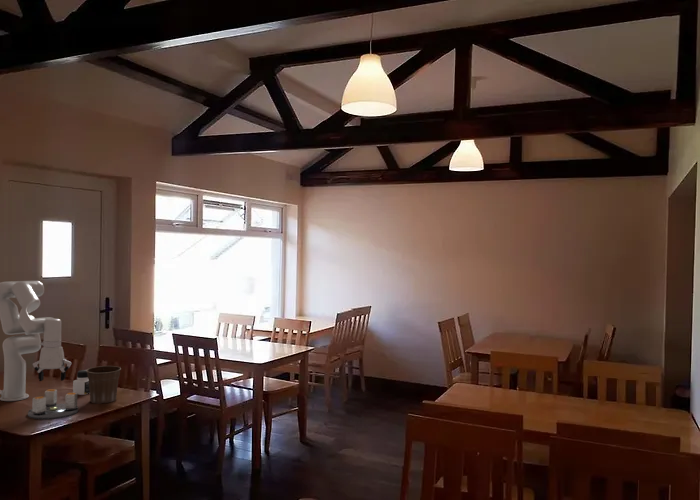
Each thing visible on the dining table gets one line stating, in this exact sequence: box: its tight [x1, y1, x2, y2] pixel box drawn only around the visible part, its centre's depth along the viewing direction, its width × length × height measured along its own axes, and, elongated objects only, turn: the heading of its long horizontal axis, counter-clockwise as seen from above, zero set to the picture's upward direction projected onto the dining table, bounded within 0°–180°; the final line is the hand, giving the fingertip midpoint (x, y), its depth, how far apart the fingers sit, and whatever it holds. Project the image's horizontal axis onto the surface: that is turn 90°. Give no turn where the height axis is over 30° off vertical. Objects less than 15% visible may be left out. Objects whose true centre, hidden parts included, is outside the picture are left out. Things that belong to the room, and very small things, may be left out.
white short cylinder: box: [64, 392, 78, 410], centre depth 267 cm, size 5×5×8 cm
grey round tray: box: [27, 403, 80, 421], centre depth 266 cm, size 21×21×2 cm
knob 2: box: [44, 388, 58, 407], centre depth 272 cm, size 5×5×8 cm
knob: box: [31, 395, 46, 415], centre depth 259 cm, size 5×5×8 cm
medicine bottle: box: [72, 369, 90, 396], centre depth 303 cm, size 7×7×12 cm
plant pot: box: [85, 365, 122, 405], centre depth 289 cm, size 16×16×16 cm
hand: (52, 380), depth 272 cm, fingers open, 9 cm apart
